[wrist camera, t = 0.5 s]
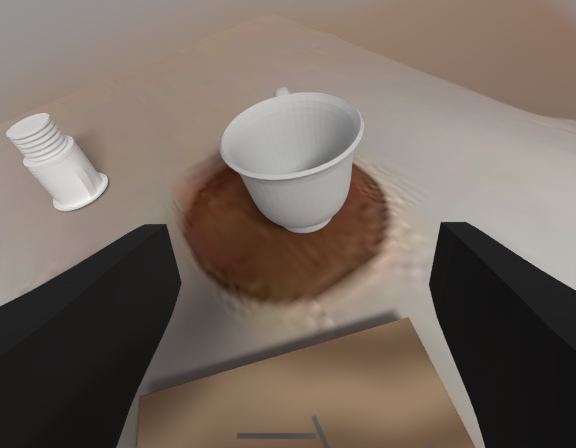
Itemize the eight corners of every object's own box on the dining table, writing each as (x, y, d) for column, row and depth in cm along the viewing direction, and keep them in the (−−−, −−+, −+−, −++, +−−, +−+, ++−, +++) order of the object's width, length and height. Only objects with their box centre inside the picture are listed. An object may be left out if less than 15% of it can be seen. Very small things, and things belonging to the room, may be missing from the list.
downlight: (122, 181, 47) (74, 111, 40) (78, 219, 43) (17, 149, 36) (86, 170, 51) (36, 104, 44) (43, 204, 47) (-19, 138, 40)
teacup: (345, 149, 44) (339, 67, 37) (381, 245, 34) (382, 156, 26) (245, 170, 44) (220, 93, 37) (250, 271, 34) (217, 191, 27)
